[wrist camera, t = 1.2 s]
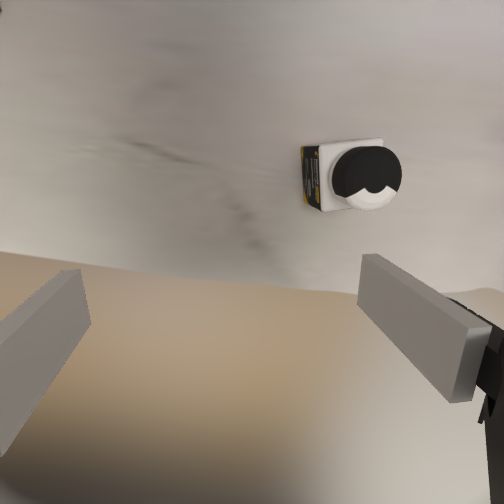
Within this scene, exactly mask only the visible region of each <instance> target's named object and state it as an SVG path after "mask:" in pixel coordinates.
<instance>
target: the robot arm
mask: <svg viewBox="0 0 504 504" xmlns="http://www.w3.org/2000/svg"><path fill="white" fill-rule="evenodd" d="M357 305H358V306H359V307H360V308H361V309H362V310H363V311H364V312H365V313H366V314H367V316H368V317H369V318H370V319H371V320H372V321H373V322H374V323H375V324H376V325H377V326H378V327H379V328H380V329H381V330H382V332H383V333H384V334H385V335H386V336H387V337H388V338H389V339H390V340H391V341H392V342H393V343H394V344H395V345H396V346H397V347H398V349H399V350H400V351H401V352H402V353H403V354H404V355H405V356H406V357H407V358H408V359H409V360H410V361H411V362H412V363H413V365H414V366H415V367H416V368H417V369H418V370H419V371H420V372H421V373H422V374H423V375H424V376H425V377H426V378H427V380H429V382H430V383H431V384H432V385H433V386H434V387H435V388H436V389H437V390H438V391H439V392H440V393H441V394H442V395H443V396H444V398H445V399H446V400H447V401H448V402H449V403H458V402H466V401H472V398H473V394H474V391H475V387H476V385H477V386H478V387H479V388H481V389H482V390H483V391H484V392H485V393H486V396H485V399H484V403H483V406H482V410H481V413H480V416H479V420H478V423H480V424H482V423H483V420H484V421H485V434H486V446H487V460H488V473H489V486H490V500H491V504H504V330H502V329H500V328H499V327H497V326H496V325H494V324H493V323H491V322H489V321H488V320H486V319H485V318H483V317H481V316H480V315H476V313H475V312H473V311H472V310H470V309H467V307H465V306H464V305H462V304H460V303H459V302H457V301H455V300H453V299H450V298H448V297H445V296H443V295H442V294H440V293H439V292H437V291H436V290H434V289H432V288H431V287H429V286H428V285H426V284H424V283H423V282H421V281H420V280H418V279H417V278H415V277H413V276H412V275H410V274H409V273H407V272H406V271H404V270H402V269H401V268H399V267H398V266H396V265H395V264H393V263H391V262H390V261H388V260H387V259H385V258H383V257H382V256H380V255H379V254H363V255H362V264H361V273H360V282H359V291H358V300H357ZM90 325H91V320H90V315H89V310H88V305H87V300H86V295H85V290H84V286H83V280H82V276H81V270H80V269H77V270H62V271H60V272H59V273H58V274H57V275H56V276H54V277H53V278H52V279H51V280H50V281H48V282H47V283H46V284H45V285H44V286H42V287H41V288H40V289H39V290H38V291H36V293H34V294H33V295H32V296H31V297H29V298H28V299H27V300H26V301H24V302H23V303H22V304H21V305H20V306H18V307H17V308H16V309H15V310H14V311H12V312H11V313H10V314H9V315H8V316H7V317H5V318H4V319H3V320H2V321H1V322H0V456H3V455H4V453H5V452H6V451H7V449H8V448H9V446H10V445H11V443H12V442H13V440H14V439H15V437H16V436H17V434H18V433H19V431H20V430H21V428H22V427H23V425H24V424H25V422H26V421H27V419H28V417H29V416H30V415H31V413H32V412H33V410H34V409H35V407H36V406H37V404H38V403H39V401H40V399H41V398H42V397H43V395H44V394H45V392H46V391H47V389H48V388H49V386H50V385H51V383H52V382H53V380H54V379H55V377H56V375H57V374H58V373H59V371H60V370H61V368H62V367H63V365H64V364H65V362H66V361H67V359H68V358H69V356H70V355H71V353H72V352H73V350H74V349H75V347H76V346H77V344H78V343H79V341H80V340H81V338H82V337H83V335H84V334H85V332H86V331H87V329H88V328H89V326H90Z"/></svg>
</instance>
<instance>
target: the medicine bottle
mask: <svg viewBox="0 0 504 504" xmlns="http://www.w3.org/2000/svg"><path fill="white" fill-rule="evenodd" d="M301 155H302V172H303V190H304V202H305V203H307V204H309V205H311V206H313V207H315V208H316V209H318V210H320V211H322V212H328V211H335V210H342V209H349V208H357V209H360V210H364V211H371V210H376V209H379V208H381V207H383V206H385V205H386V204H387V203H388V202H390V201H391V200H392V198H393V197H394V196H395V194H396V193H397V191H398V189H399V186H400V183H401V178H402V170H401V165H400V162H399V160H398V158H397V157H396V155H395V154H394V153H393V152H392V151H391V150H389V149H387V148H385V147H384V140H383V139H382V138H370V139H357V140H347V141H339V142H331V143H322V144H314V145H306V146H302V148H301Z"/></svg>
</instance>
